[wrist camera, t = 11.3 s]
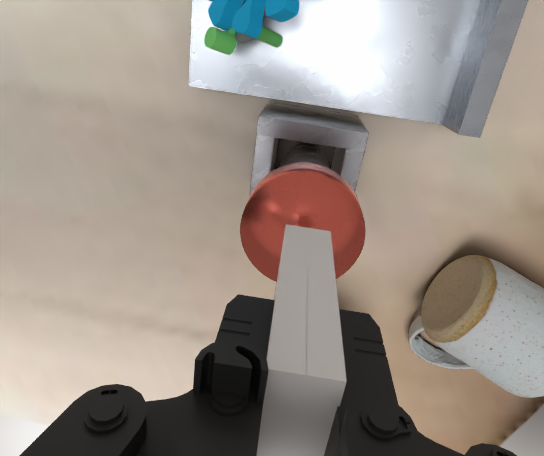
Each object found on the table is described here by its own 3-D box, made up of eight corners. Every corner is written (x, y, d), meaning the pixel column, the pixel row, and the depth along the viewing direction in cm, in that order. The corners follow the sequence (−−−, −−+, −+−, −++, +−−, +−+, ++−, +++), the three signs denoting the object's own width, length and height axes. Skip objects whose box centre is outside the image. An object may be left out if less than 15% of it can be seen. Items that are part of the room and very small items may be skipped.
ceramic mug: (466, 230, 30) (511, 289, 23) (551, 281, 31) (619, 352, 24) (380, 326, 34) (396, 399, 28) (457, 367, 36) (492, 448, 29)
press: (191, 175, 30) (105, 271, 17) (213, -247, 21) (59, -712, 8) (435, 213, 30) (528, 340, 17) (571, -200, 20) (1012, -608, 8)
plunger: (258, 202, 26) (234, 276, 17) (269, 122, 24) (247, 164, 15) (337, 214, 26) (350, 295, 17) (354, 135, 23) (378, 184, 15)
